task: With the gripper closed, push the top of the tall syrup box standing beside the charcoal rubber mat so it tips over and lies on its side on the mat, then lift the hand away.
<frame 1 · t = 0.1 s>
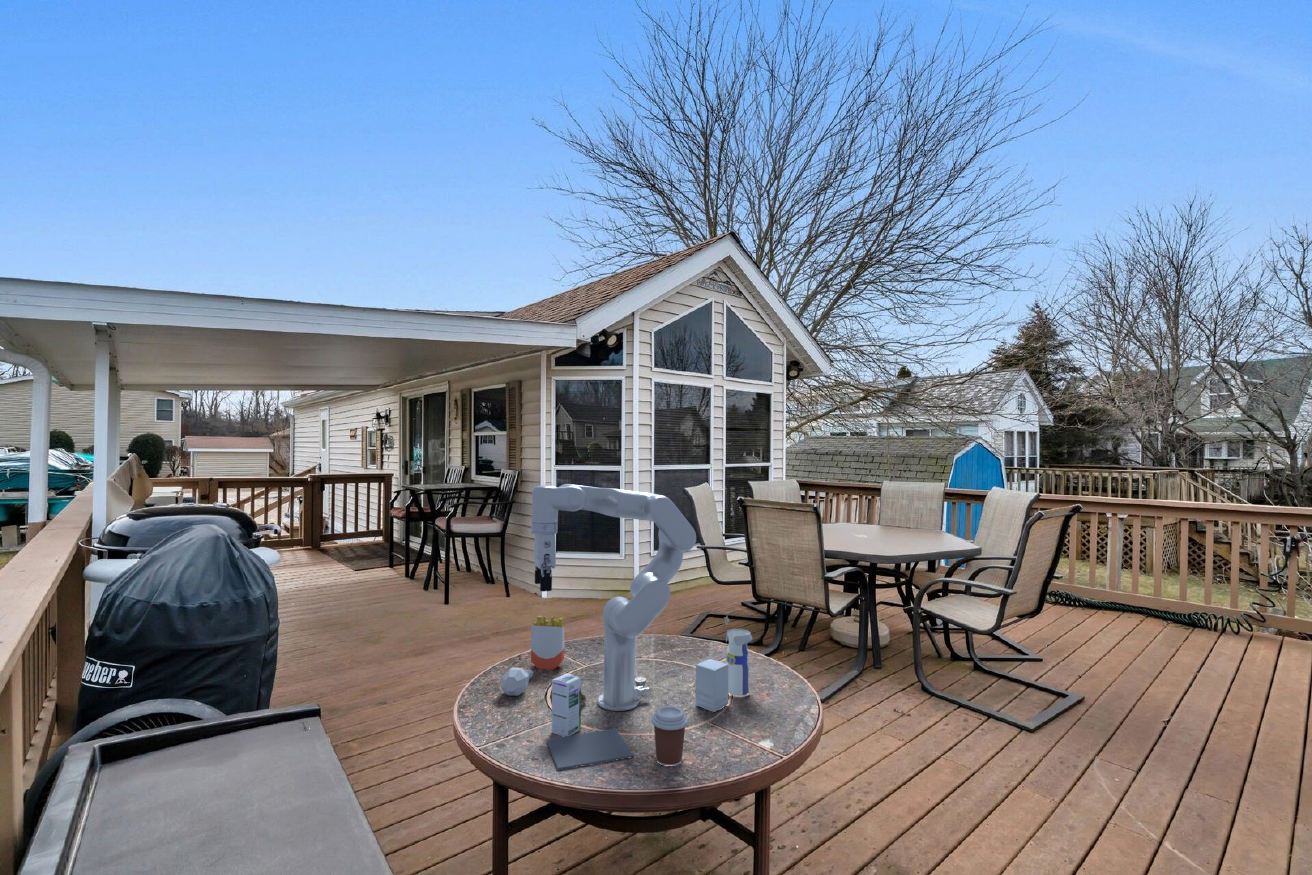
hand: (542, 587, 174), 37 cm above the table, tool pointing down, fingers open, 9 cm apart
chicken leg: (519, 689, 191), on the table
coffee cup: (668, 761, 149), on the table
supplement box: (711, 706, 181), on the table
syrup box: (565, 731, 163), on the table
spray bottle: (737, 693, 190), on the table
french fries container: (547, 667, 210), on the table
rubber mat: (588, 749, 153), on the table
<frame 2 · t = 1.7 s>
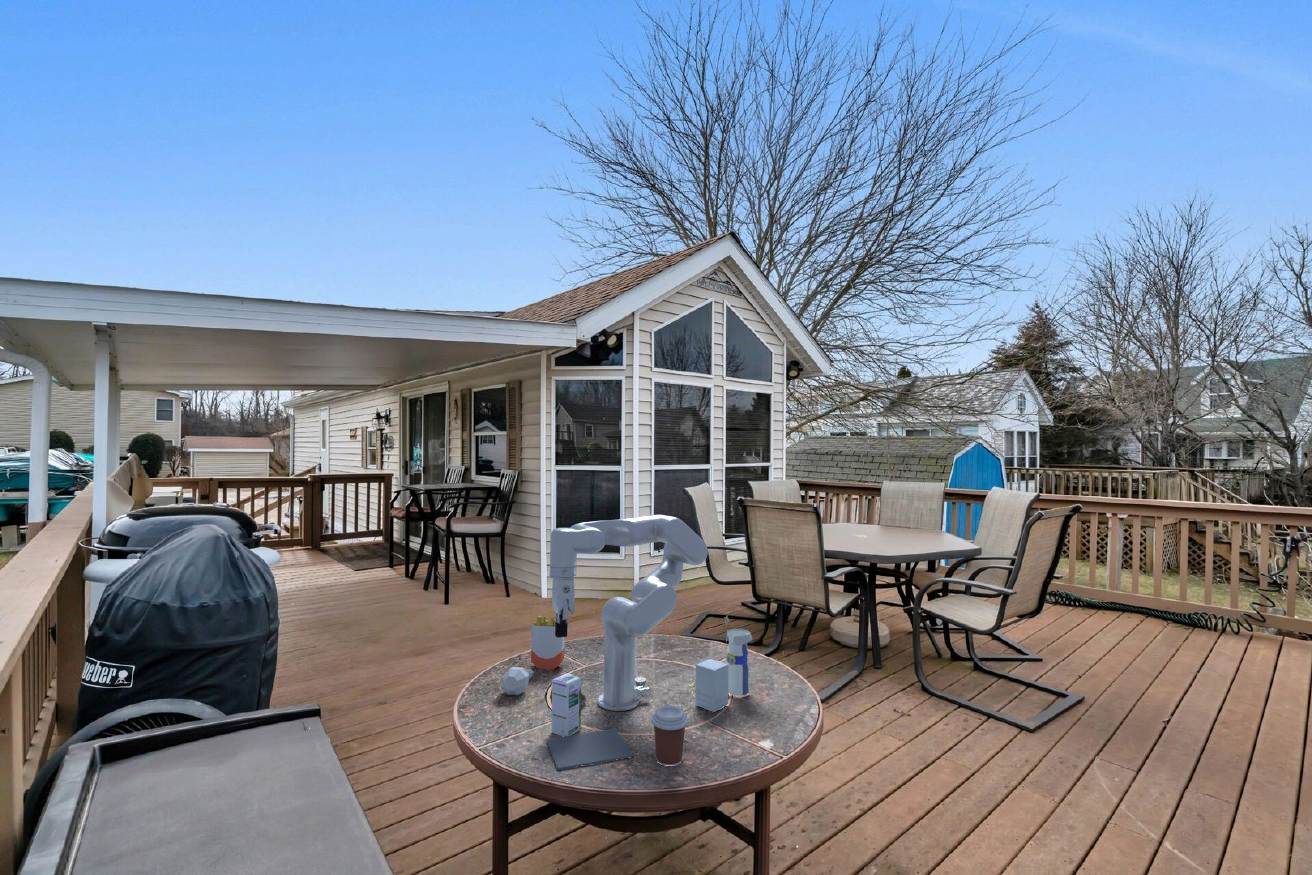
hand: (561, 636, 171), 23 cm above the table, tool pointing down, fingers closed
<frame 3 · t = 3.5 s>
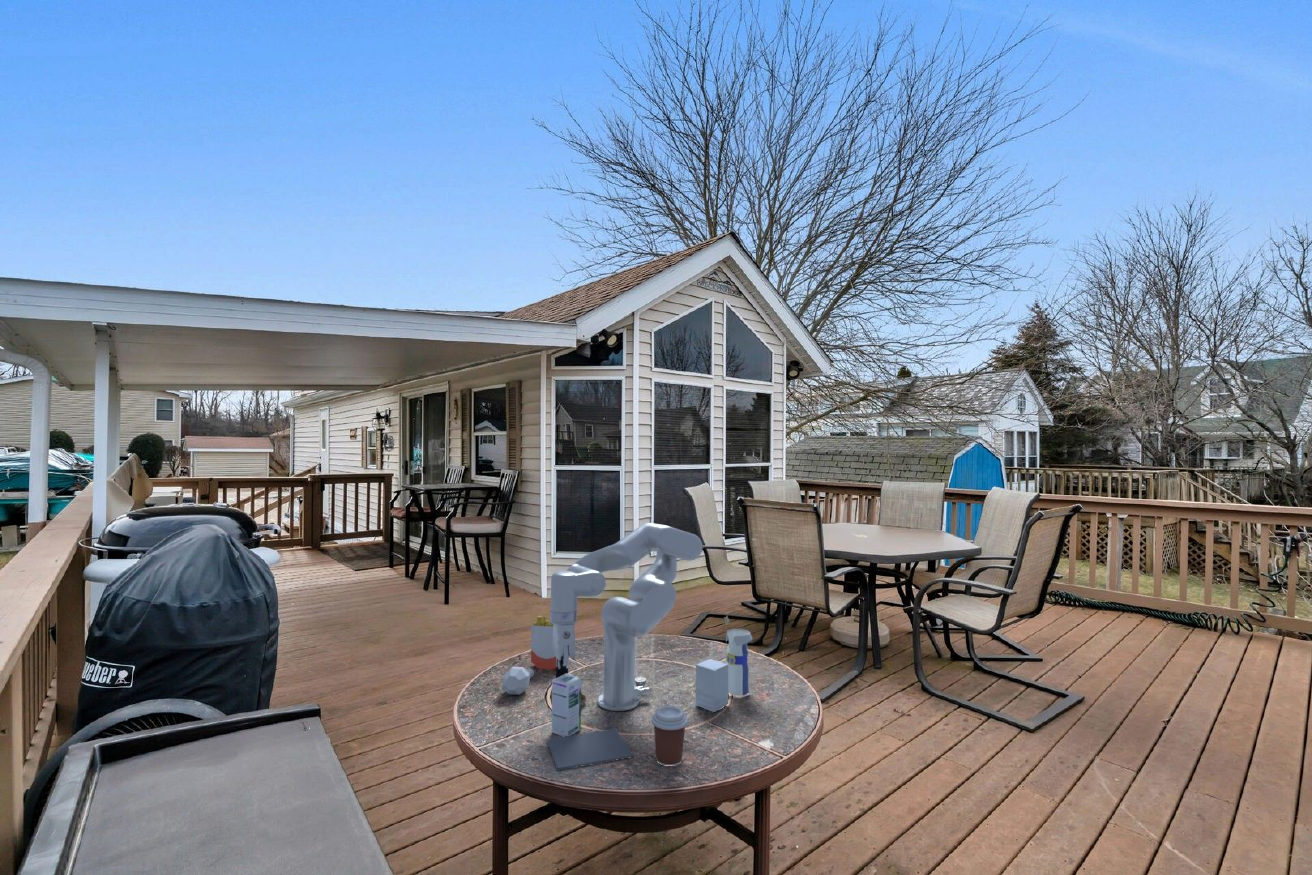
hand: (561, 681, 169), 11 cm above the table, tool pointing down, fingers closed
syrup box: (565, 731, 163), on the table, touching gripper
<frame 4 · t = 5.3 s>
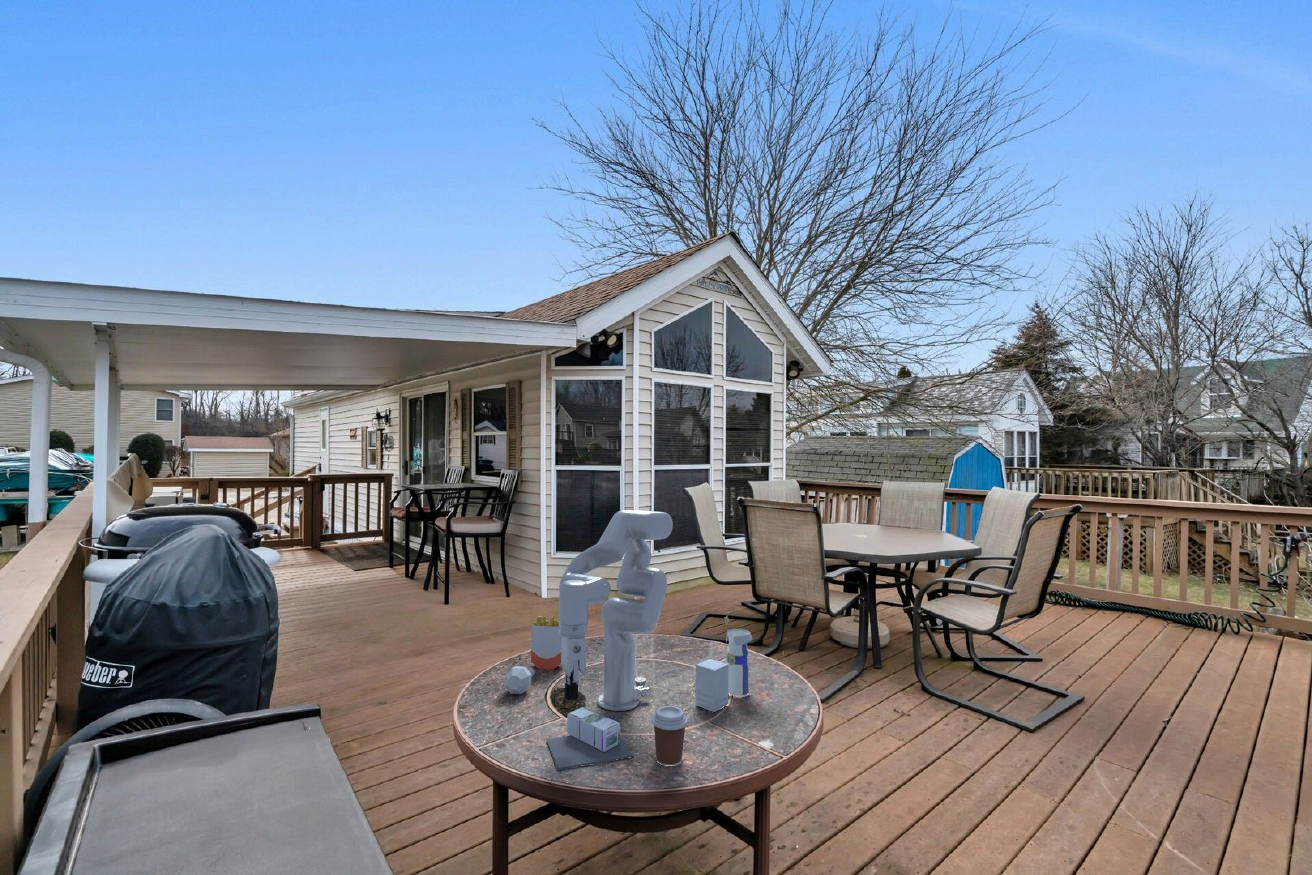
hand: (571, 698, 157), 11 cm above the table, tool pointing down, fingers closed
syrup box: (574, 719, 162), point 4 cm above the table, touching rubber mat
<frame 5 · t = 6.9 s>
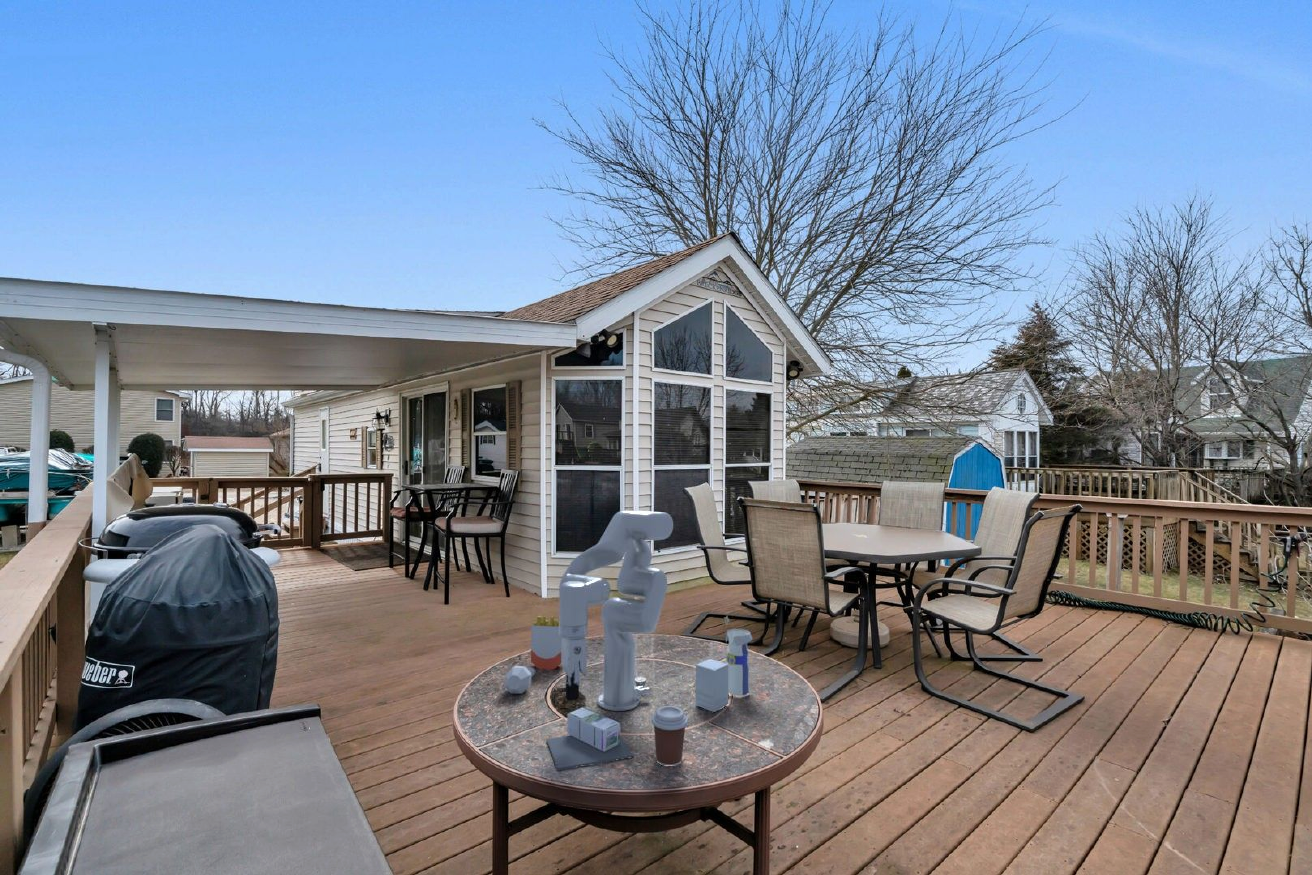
hand: (572, 698, 158), 11 cm above the table, tool pointing down, fingers closed
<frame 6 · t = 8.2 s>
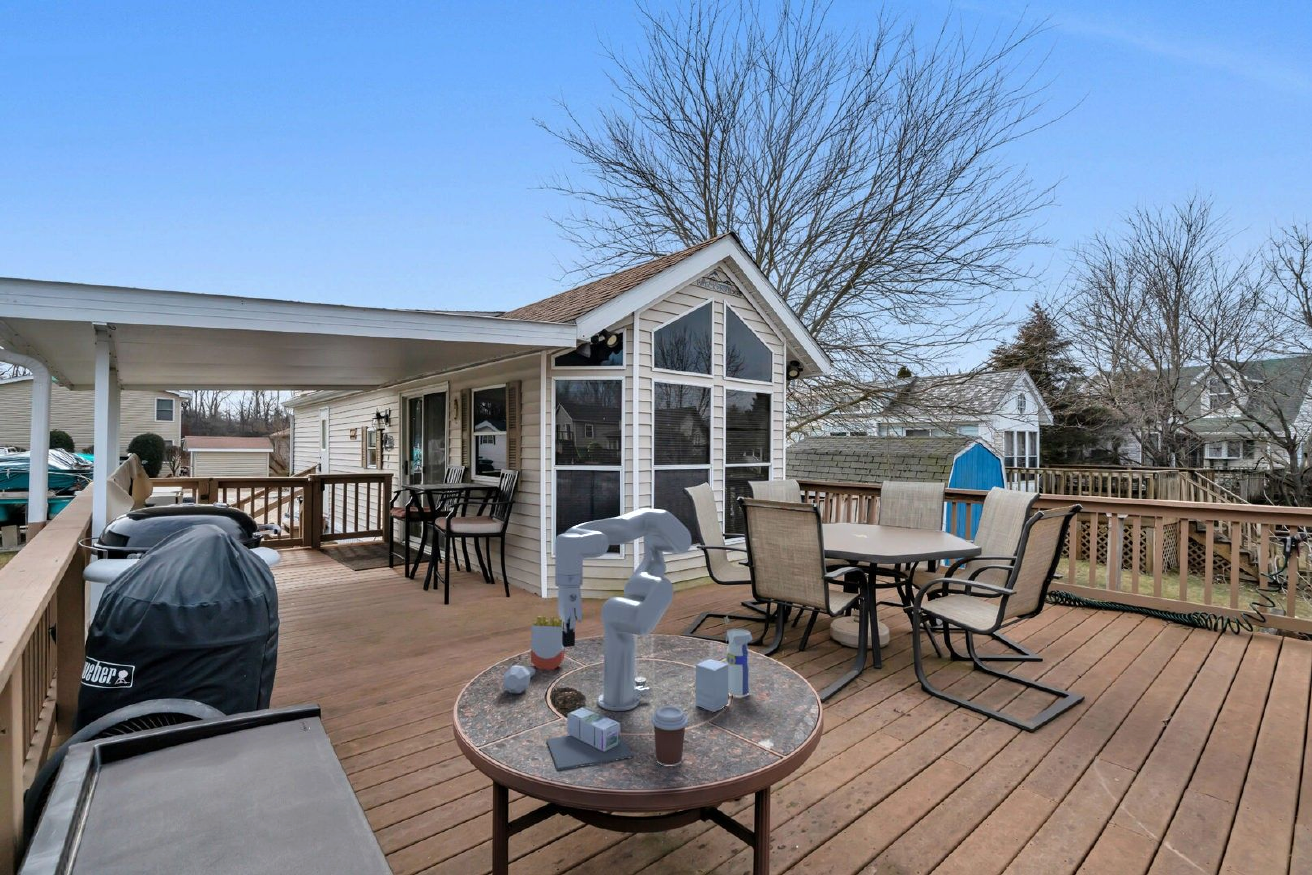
hand: (568, 645, 165), 23 cm above the table, tool pointing down, fingers closed
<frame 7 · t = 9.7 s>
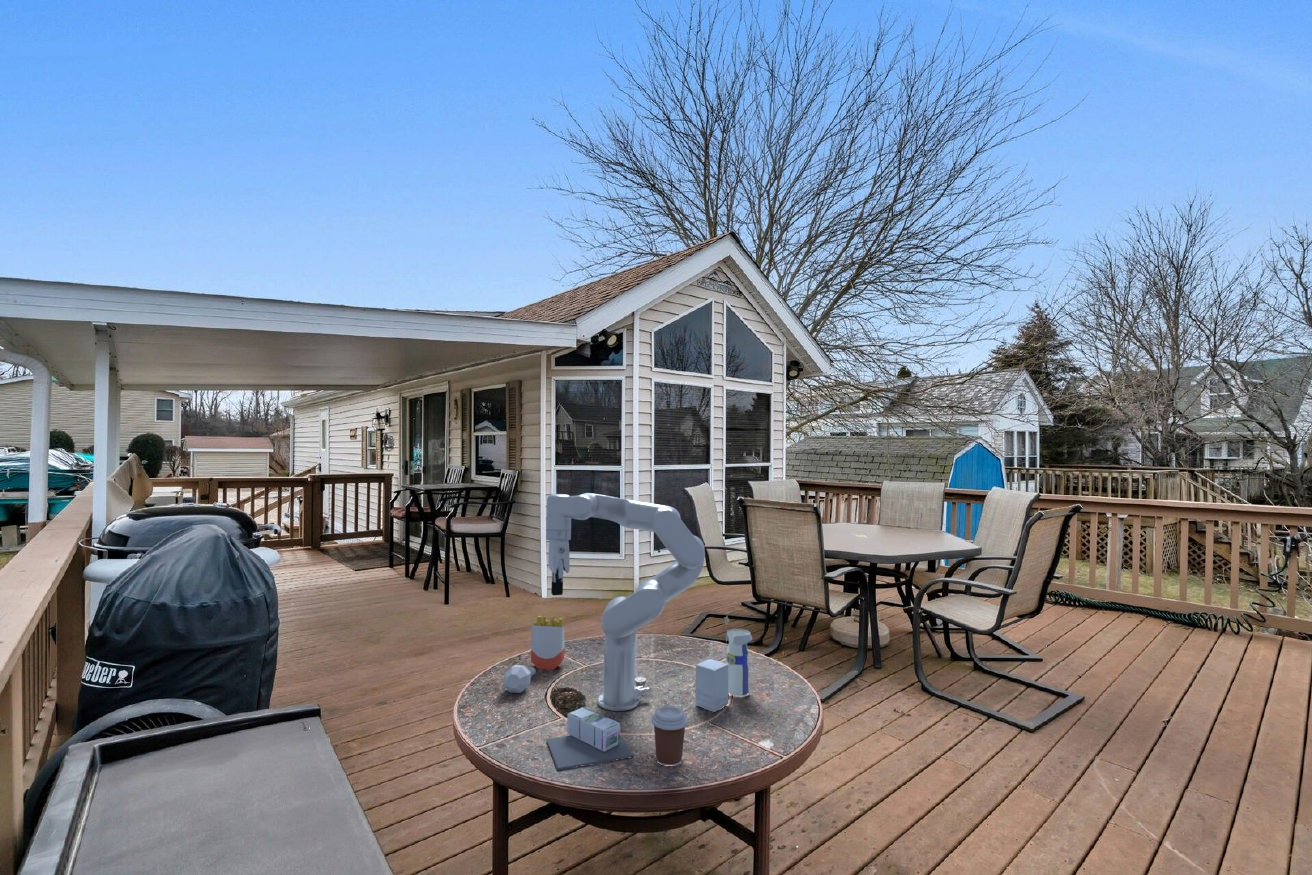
hand: (557, 594, 183), 32 cm above the table, tool pointing down, fingers closed
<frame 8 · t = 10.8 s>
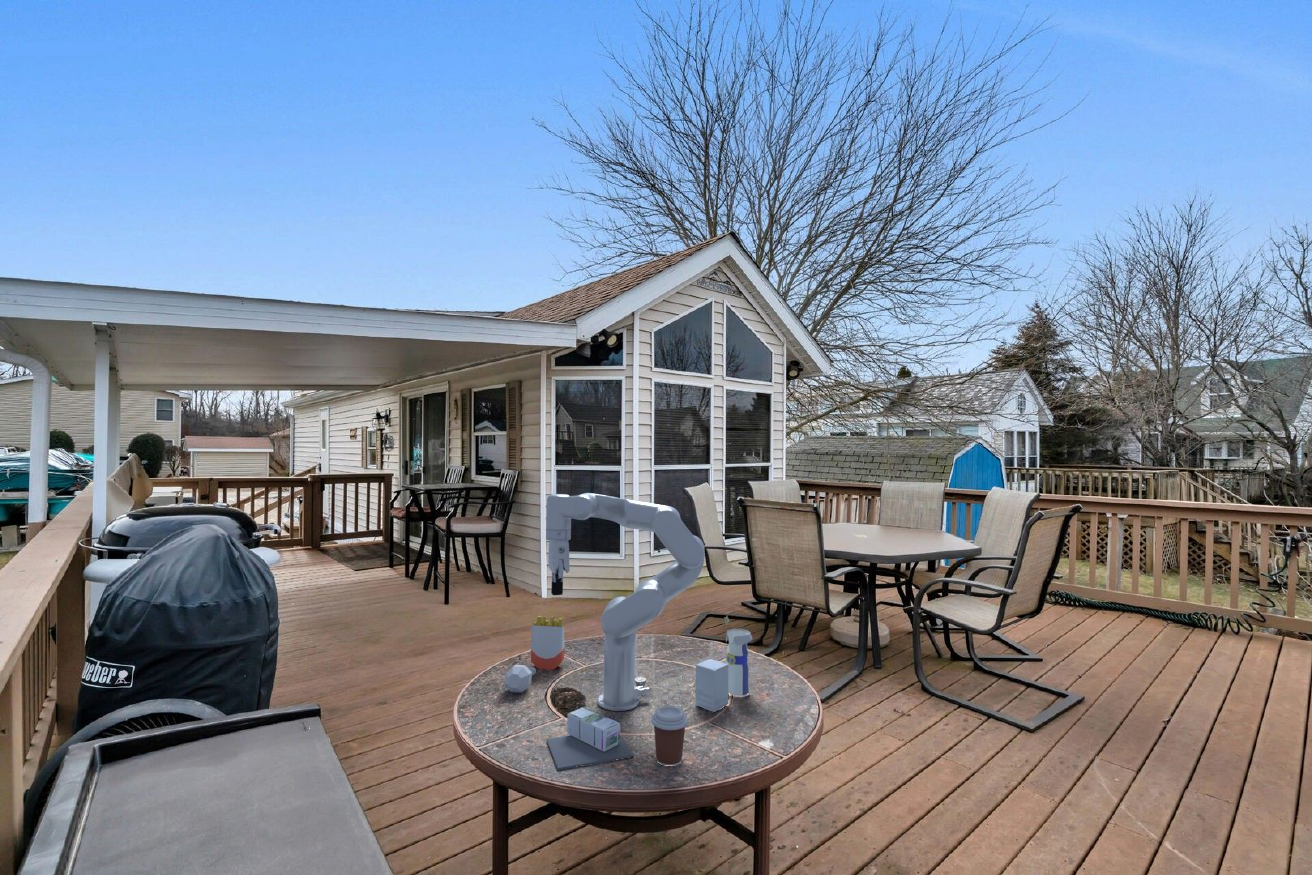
hand: (557, 594, 183), 32 cm above the table, tool pointing down, fingers closed
at the end: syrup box tilted 91°; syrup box inside the target area (6.6 cm from its centre), point 3.6 cm above the table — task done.
